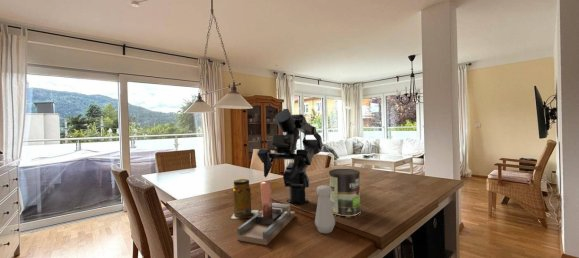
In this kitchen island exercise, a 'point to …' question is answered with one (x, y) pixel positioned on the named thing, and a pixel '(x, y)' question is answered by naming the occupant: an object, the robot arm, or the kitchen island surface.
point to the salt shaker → (324, 210)
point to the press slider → (267, 206)
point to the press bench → (265, 227)
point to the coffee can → (345, 191)
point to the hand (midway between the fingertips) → (277, 177)
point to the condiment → (242, 200)
